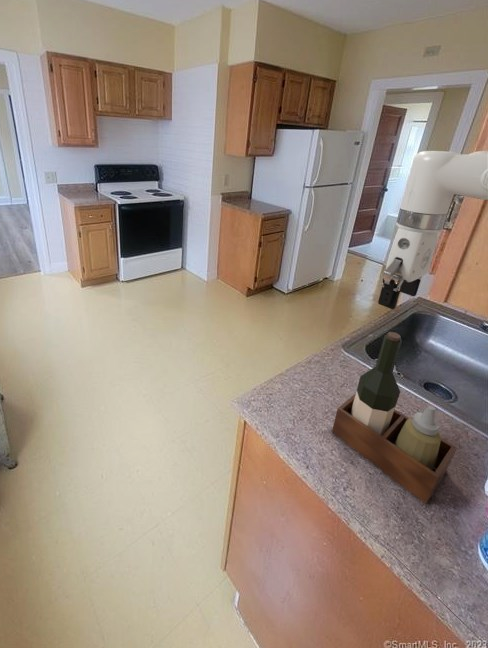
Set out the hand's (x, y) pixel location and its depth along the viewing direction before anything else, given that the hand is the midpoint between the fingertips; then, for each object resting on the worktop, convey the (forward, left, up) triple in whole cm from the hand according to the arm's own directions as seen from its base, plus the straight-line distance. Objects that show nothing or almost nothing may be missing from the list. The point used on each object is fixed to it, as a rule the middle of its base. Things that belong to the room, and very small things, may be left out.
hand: (397, 299), depth 67 cm
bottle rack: (-7, +1, -38) cm, 38 cm away
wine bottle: (-2, +1, -38) cm, 38 cm away
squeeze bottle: (-12, +1, -38) cm, 40 cm away
